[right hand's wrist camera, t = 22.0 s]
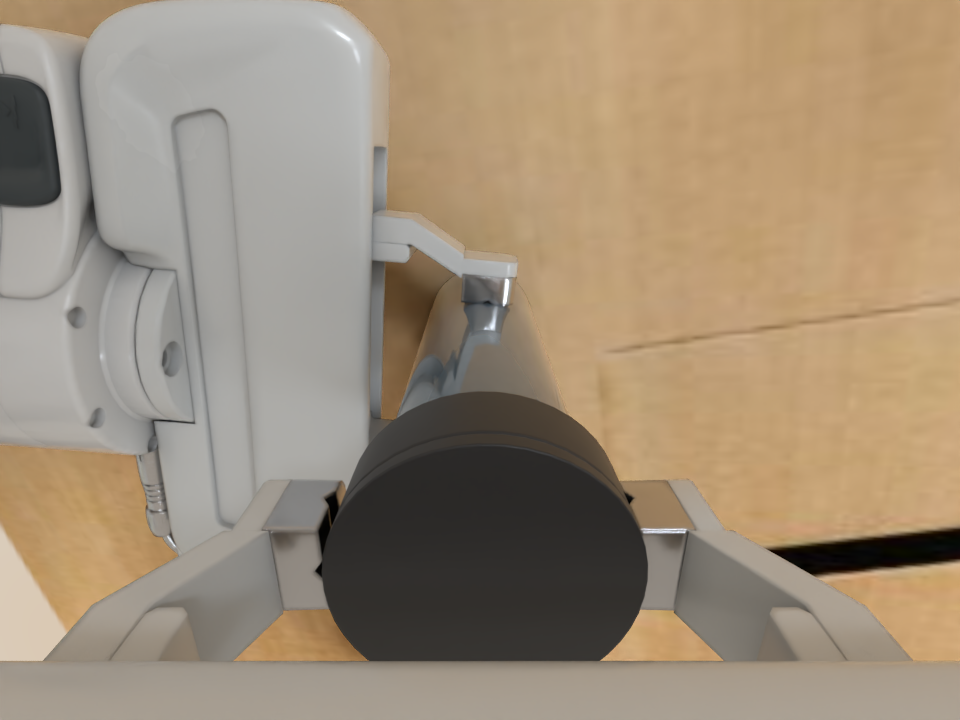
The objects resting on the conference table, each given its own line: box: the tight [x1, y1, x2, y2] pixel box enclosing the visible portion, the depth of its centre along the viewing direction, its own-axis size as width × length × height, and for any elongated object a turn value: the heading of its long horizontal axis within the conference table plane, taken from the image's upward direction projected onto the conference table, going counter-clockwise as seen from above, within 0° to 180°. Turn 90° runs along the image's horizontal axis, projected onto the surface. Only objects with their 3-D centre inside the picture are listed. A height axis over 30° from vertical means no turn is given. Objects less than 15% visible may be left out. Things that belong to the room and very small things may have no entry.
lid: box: [322, 391, 648, 661], centre depth 9 cm, size 5×5×2 cm
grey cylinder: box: [396, 274, 569, 418], centre depth 16 cm, size 4×4×15 cm
